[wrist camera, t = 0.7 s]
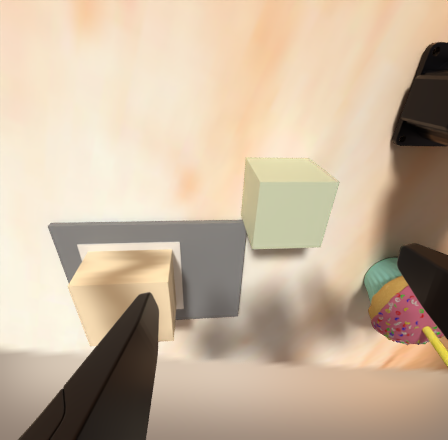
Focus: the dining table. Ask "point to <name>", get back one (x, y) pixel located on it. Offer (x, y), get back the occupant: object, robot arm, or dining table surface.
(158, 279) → the maple block
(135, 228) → the grey flat plate
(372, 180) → the dining table surface
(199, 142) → the dining table surface
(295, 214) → the green cube
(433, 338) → the cupcake
